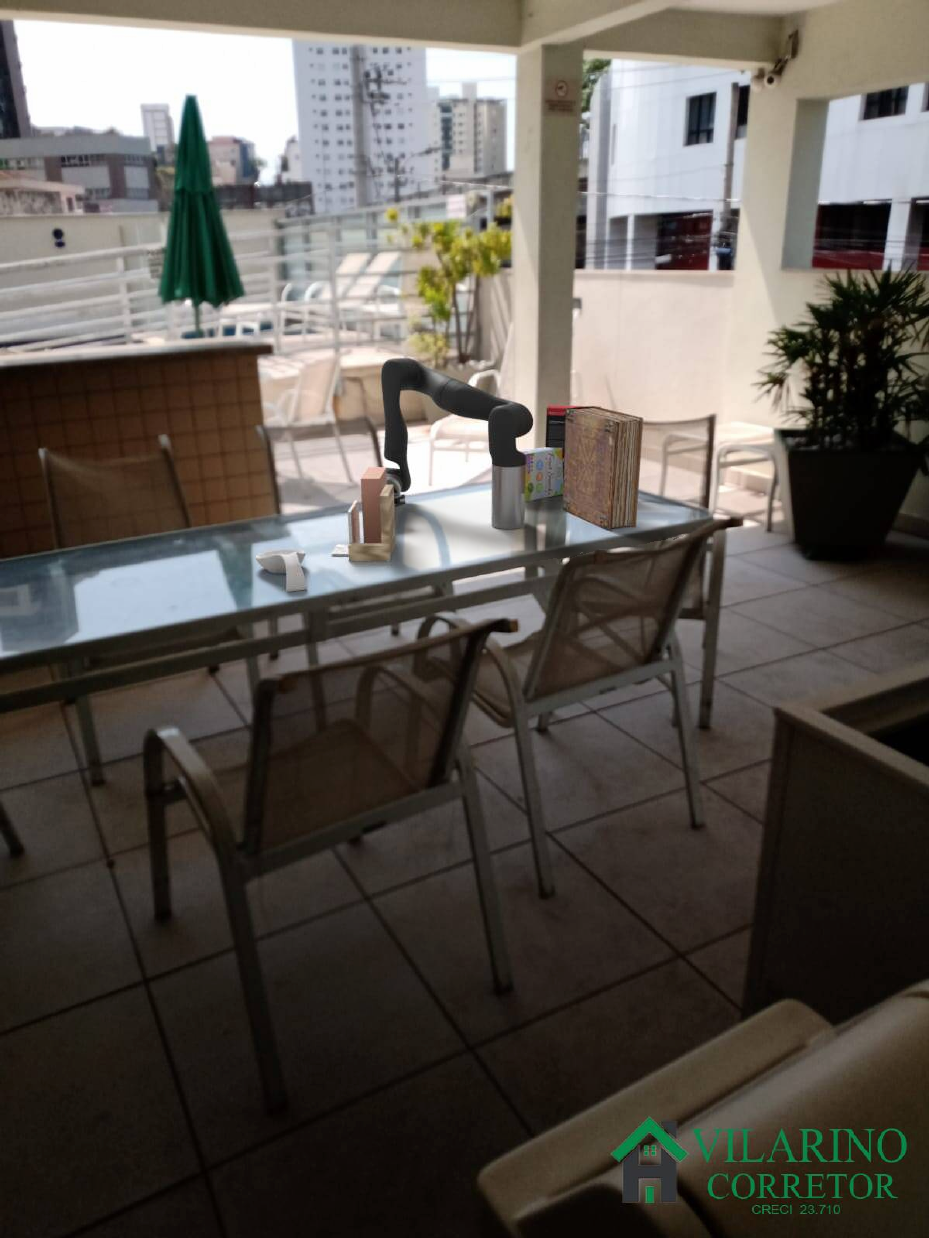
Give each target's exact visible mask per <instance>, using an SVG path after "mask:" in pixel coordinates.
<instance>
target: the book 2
mask: <svg viewBox="0 0 929 1238" xmlns="http://www.w3.org/2000/svg"><path fill="white" fill-rule="evenodd" d="M587 406H588V407H575V408H567V409H566V421H565V454H564V486H563V494H562V495H563V497H562V511H564V512H567V513H569V514H571V515H573V516H575V517H577V518H580V519H581V520H584V521H586V522H588V523H590V524H592V525H594V526H596V527H598V528H601V529H603V530H605V531H607V532H608V531H610V530H611V529H614V528H622V527H629V526H631V527H634V528H636V526H637V521H638V520H637V519H638V518H637V516H638V506H639V505H638V502H639V488H640V473H641V471H640V470H641V458H642V445H643V432H644V431H643V429H644V417H641V416H638V415H637V416H636V415H633V414H628V413H624V412H621V411H616V410H612V409H608V408H603V407H601V406H595V405H593V406H592V405H591V406H589V405H587ZM600 407H601V408H600Z"/></svg>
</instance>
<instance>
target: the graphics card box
mask: <svg viewBox="0 0 929 1238" xmlns="http://www.w3.org/2000/svg"><path fill="white" fill-rule="evenodd" d="M588 406H589V405H555V404H554V405H547V406H546V413H545V414H546V416H545V417H546V419H545V441H544V443H545V444H544V447H557V448H562V463H563V486H564V454H565V421H566V409H567V408H575V407H588ZM599 407H600V408H602V406H599Z"/></svg>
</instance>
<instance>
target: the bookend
mask: <svg viewBox="0 0 929 1238" xmlns="http://www.w3.org/2000/svg"><path fill="white" fill-rule="evenodd" d="M359 509H360V507H359V499H355V500H354V501H353V502H352V505H351V506H350V508H349V509H348V510H347V523H348V525H347V526H348V527H347V528H348V540H349V541H348V542H349V543H361V529H360V527H361V526H360V510H359ZM349 543H348V544H336V546H335V547H334V549H333V551H332V552H331V557H349V553H348V545H349Z"/></svg>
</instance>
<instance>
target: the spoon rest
mask: <svg viewBox="0 0 929 1238" xmlns="http://www.w3.org/2000/svg"><path fill="white" fill-rule="evenodd" d="M305 557H306V551H304V550H302V549H298V548H297V549H296V548H287V549H286V548H284V549H275V550H269V551H264V552H262V553H261V552H260V553H259V554H256V556H255V560H256V561H257V563H258V564H259V565H260V567H262V568H263V569H265V570H267V571H269V572H270V573H272V574H273V573H274V574H286V575H285V576H286V578H285V579H286V581H285V582H286V586H285V587H286V589H285V590H286V592H288V593H291V592H297V591H304V590H307V589H308V584H307V579H306V577H305V574H304V573H305V572H304V570H303V569H302V565H301V564H302V563H303V561H304V559H305Z"/></svg>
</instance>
